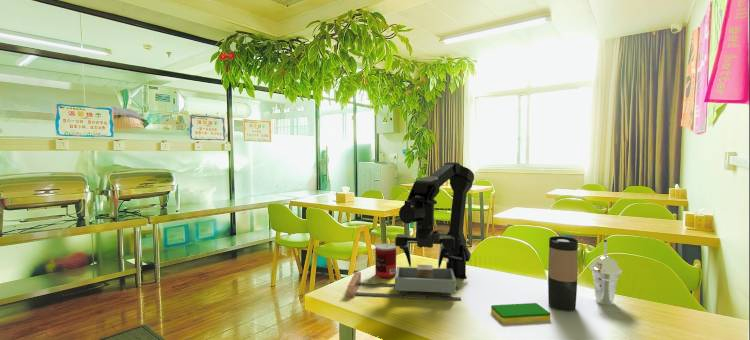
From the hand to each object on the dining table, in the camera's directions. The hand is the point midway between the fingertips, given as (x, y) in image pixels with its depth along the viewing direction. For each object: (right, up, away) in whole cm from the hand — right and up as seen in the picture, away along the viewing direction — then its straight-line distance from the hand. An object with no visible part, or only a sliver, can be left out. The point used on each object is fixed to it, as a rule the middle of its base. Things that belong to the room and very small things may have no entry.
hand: (424, 267), depth 117 cm
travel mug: (+39, -9, -10) cm, 41 cm away
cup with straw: (+54, -9, -7) cm, 55 cm away
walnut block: (0, -5, 0) cm, 5 cm away
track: (-6, -8, +1) cm, 10 cm away
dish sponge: (+24, -10, -16) cm, 31 cm away
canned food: (-12, -8, +17) cm, 22 cm away
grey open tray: (0, -8, +1) cm, 8 cm away
